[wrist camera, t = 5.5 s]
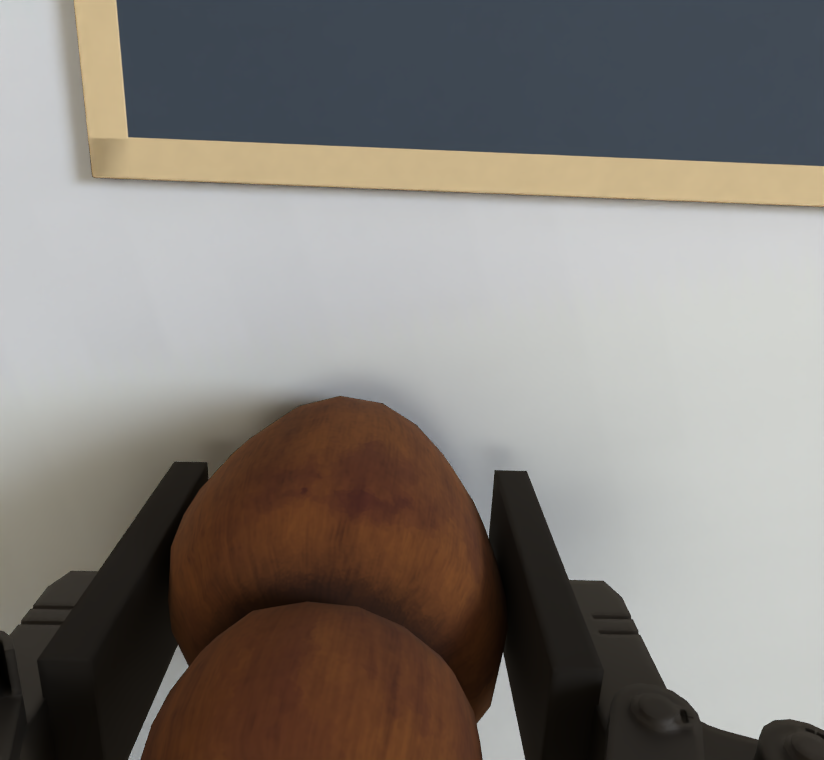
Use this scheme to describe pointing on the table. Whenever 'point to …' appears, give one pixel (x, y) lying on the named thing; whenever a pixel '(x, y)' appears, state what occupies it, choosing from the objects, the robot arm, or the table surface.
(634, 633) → the robot arm
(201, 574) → the wooden figurine
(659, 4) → the framed chalkboard
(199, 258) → the table surface
